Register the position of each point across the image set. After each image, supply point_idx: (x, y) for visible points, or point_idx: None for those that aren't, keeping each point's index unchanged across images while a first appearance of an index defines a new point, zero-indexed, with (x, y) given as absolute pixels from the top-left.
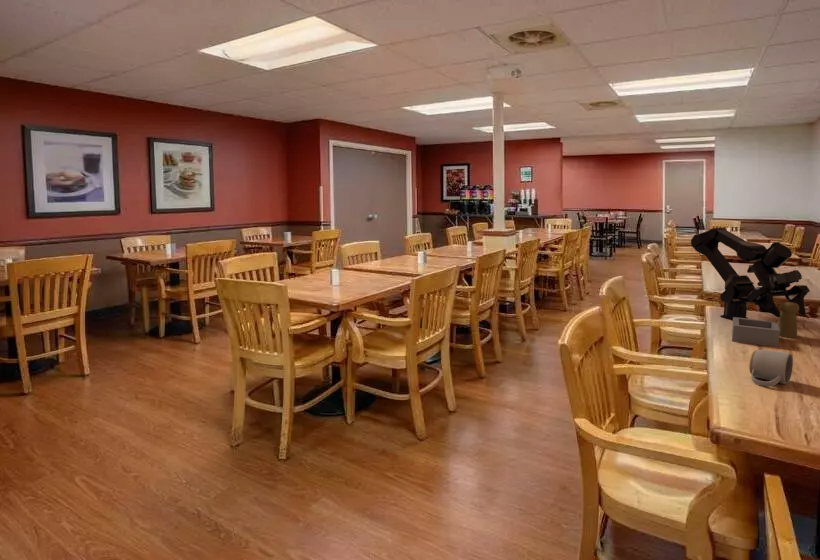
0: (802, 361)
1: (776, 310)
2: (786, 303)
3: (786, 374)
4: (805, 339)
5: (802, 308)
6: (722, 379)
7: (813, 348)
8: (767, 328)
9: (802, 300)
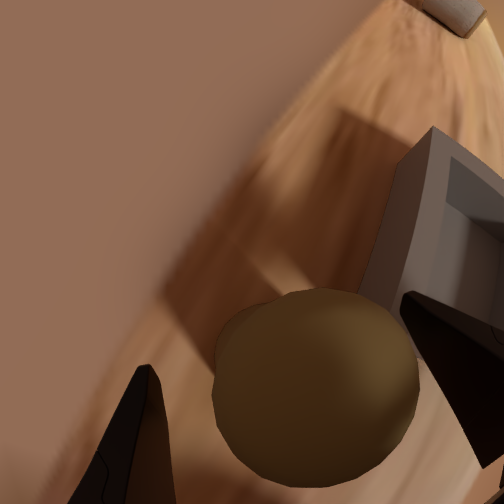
0: (371, 50)
1: (451, 309)
2: (402, 356)
3: (428, 7)
4: (208, 277)
5: (141, 409)
6: (494, 48)
7: (267, 135)
8: (470, 165)
9: (88, 496)
